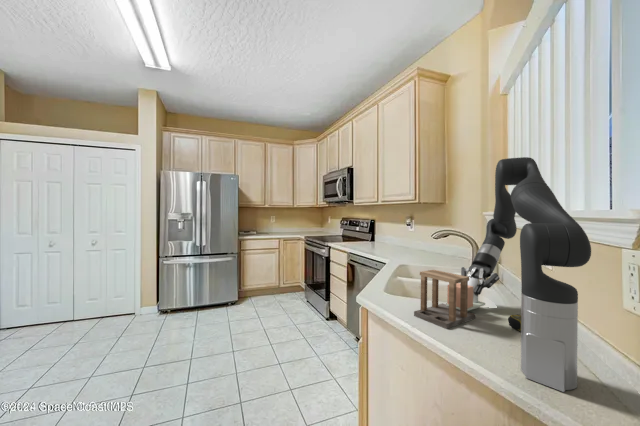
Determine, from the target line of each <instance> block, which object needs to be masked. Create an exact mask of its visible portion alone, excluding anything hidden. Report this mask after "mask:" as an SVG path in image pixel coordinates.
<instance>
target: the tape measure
mask: <svg viewBox="0 0 640 426" xmlns="http://www.w3.org/2000/svg"><path fill="white" fill-rule="evenodd" d="M507 322H508V325H509V327H510V328H512V329H514V330H516V331H519V332H521V314H510V315H509V317H507Z"/></svg>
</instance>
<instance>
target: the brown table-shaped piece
mask: <svg viewBox="0 0 640 426" xmlns="http://www.w3.org/2000/svg"><path fill="white" fill-rule="evenodd" d="M419 276H420V309H418V310H414V311H413V316H414V317H416V318H418V319H421V320H424V321H426V322H428V323H431V324H433V325H436V326H439V327H441V328H444V329H446V330H448V329H450V328H453V327H456V326H459V325H461V324H465V323H466V322H469V321H472V320H475V319H476V313H474V312H471V311H467V300H468V281H469V277H468V275H467V276H462V275H461V274H457V273H456V274H455V273H451V272H446V271H442V270H437V269H430V270H429V269H428V270H423V271H419ZM428 278H430V279H432V282H431V288H432V289H431V294H432V295H431V306H429V307H428ZM439 281H442V282H447V283H448V285H449V306H446V304H445V303H440V304H439V284H440V283H439ZM456 283H460V284H461V295H460V310H459V309H456Z"/></svg>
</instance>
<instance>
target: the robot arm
mask: <svg viewBox="0 0 640 426" xmlns="http://www.w3.org/2000/svg"><path fill="white" fill-rule="evenodd" d="M494 174H495V175H494V180H495V181H494V196H495V203H494V210H493V214H492V217H493V218H491V219H490V220H488V221H487V223H486V231H485V237H484V240H483V242H482V244H481V246H480V247H479V248H478V249H477V251H476V252H477V253H476V255H475V256H474V258H473V260H472V263H471V265H470V266H469V267H466V268H465V266H464V267H463V266H462V267H461V269H460V271H461V272H460V275H462V276H467V277H469V278H477V279H478V284H477V286H476V288H475V290H474V294H475V295H476V296H478V297H479V296H480V295H481V293H482V291H483V289H484V288H487V289H490V288H491V287H493V285H494V284H496V283H497V282H498V281H499V280H500V275H498V273H497V272H494V270H495V269H496V266H497V264H498V262H499V261H500V258H501V253H502V251H503V249H504V246H505V243H506V241H505V240H504V239H507V240H509V239H512V238H515V235H516V234H517V229H518V227H517V224H516V220H515V219H516V218H515V217H516V214H517V215H518V216H519V217H520V218H522V219H524V220H525V221H527V222H528V223H526V224H524V225H523V226H522V228H521V229H520V234H519V250H520V265H521V267H520V269H521V270H520V271H521V274H520V275H521V276H520V277H521V278H520V279H521V290H520V291H521V297H520V299H521V304H520V305H521V307H520V309H521V310H520V315H521V331H520V370H521V371H522V372H523V374H524V376H525V378H526V379H527V380H530V381H533V382H536V383H538V384H540V385H544V386H546V387H550V388H553V389H555V390H557V391H560V392H563V393H565V392H566V391H570V390H575V389H576V388H578V333H579V332H578V329H579V328H578V326H579V325H578V323H579V322H578V321H579V320H578V318H579V316H578V313H579V311H578V309H579V305H578V304H579V303H578V302H579V293H578V292H579V291H578V290H577V288H576V287H574V286H573V285H571V284H568V283H566V282H563V281H560V280H557V279H556V278H553V277H551V276H550V275H548V274H546V273H544V270H543V268H542V266H547V267H558V268H560V267H561V268H579V267H583V266H585V265H586V264H587V263H588V262H589V261H590V260H591V256H592V246H591V242H590V239H589V237H588V235H587V233H586V232H585V229H584V228H583V227H582V226H581V225H580V224H579V223H578V221H576V220H575V219H574V218H573V217H572V216H571V215H570V214H569V213H568V212H567V211H566V210H565V208H564V207H563V206H562V204H561V203H560V202H559V200H558V199H557V197H556V195H555V193H554V192H553V191H552V189H551V188H550V186H549V185H548V184H547V182H546V181H545V179H544V177H543V176H542V174H541V172H540V169H539V167H538V164H537V162H536V160H535V159H534V158H532V157H528V156H527V157H525V156H524V157H511V158H509V157H508V158H502V159H500V160H498V162H497V163H496V167H495V173H494ZM507 186H514V187H513V189H512V191H511V192H510V193H509V191H508V189H507V188H506V187H507Z"/></svg>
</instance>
